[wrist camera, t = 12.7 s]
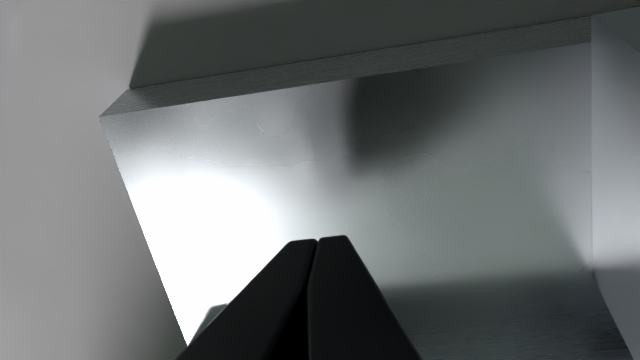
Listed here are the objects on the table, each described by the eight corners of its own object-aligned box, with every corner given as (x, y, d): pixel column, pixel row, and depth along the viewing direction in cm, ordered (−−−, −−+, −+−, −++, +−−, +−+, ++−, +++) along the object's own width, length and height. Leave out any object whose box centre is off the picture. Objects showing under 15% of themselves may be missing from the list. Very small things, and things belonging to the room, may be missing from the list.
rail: (1091, -64, 8) (1527, -10, 5) (962, 268, 11) (1197, 437, 8) (127, 89, 10) (22, 190, 7) (213, 332, 13) (163, 482, 10)
